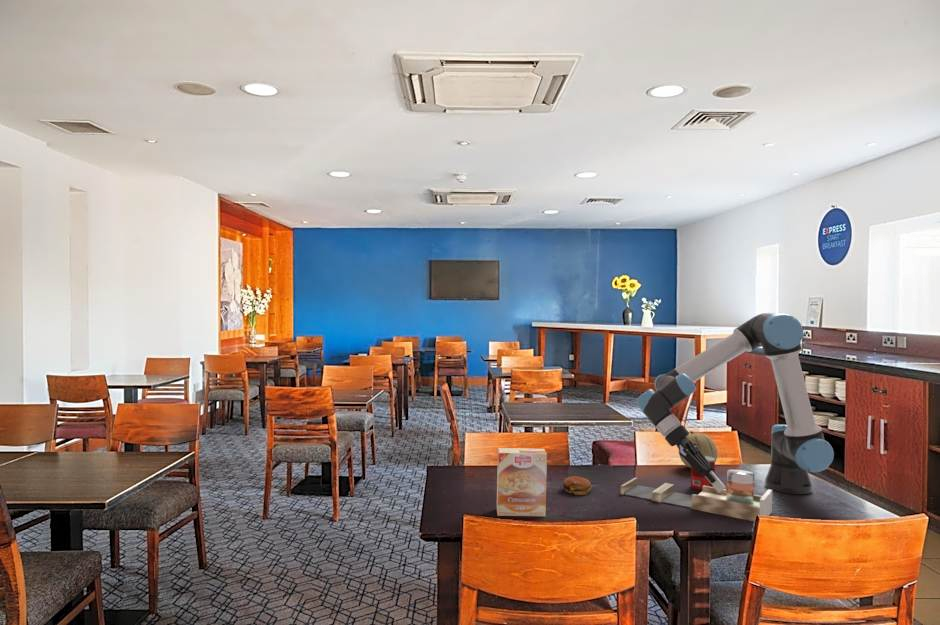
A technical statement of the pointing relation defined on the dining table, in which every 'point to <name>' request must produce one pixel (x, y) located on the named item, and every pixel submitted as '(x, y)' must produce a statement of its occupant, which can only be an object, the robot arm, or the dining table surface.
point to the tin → (740, 486)
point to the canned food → (699, 481)
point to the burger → (577, 485)
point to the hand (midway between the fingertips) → (722, 490)
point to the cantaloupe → (702, 446)
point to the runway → (693, 499)
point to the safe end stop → (765, 503)
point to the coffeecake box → (521, 482)
